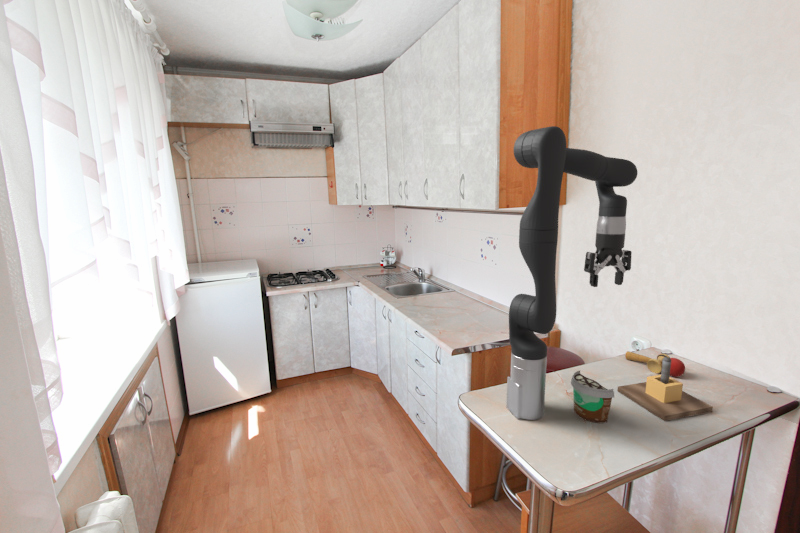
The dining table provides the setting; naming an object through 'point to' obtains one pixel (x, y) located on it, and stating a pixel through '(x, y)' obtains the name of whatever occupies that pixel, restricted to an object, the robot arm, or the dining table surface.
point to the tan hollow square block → (664, 389)
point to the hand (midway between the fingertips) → (606, 285)
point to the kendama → (658, 363)
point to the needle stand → (665, 410)
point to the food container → (591, 399)
